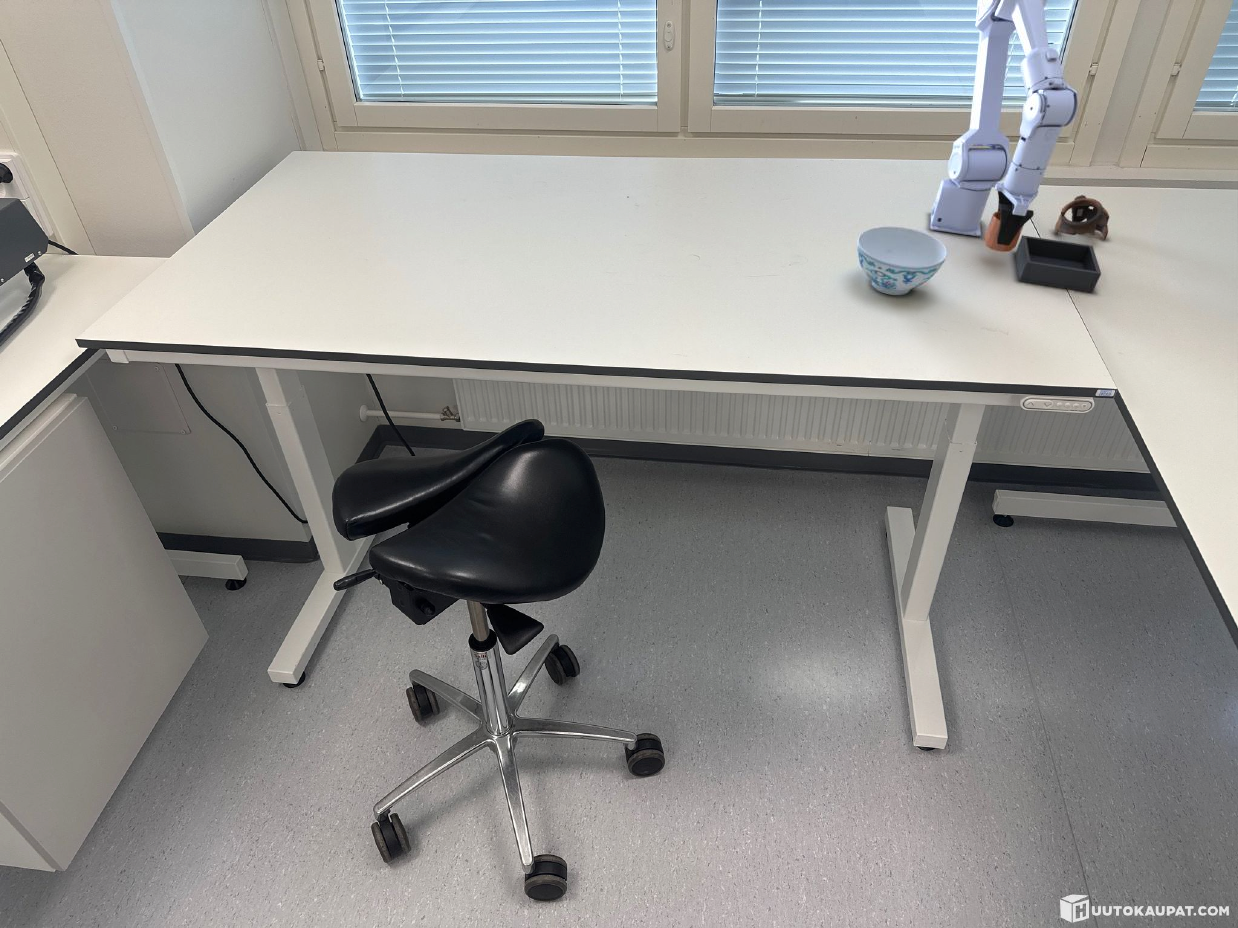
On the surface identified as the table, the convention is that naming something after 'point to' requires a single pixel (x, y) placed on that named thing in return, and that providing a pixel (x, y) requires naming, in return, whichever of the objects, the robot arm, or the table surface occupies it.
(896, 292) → the chinaware
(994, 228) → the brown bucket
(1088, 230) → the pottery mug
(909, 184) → the table surface
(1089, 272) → the tray
